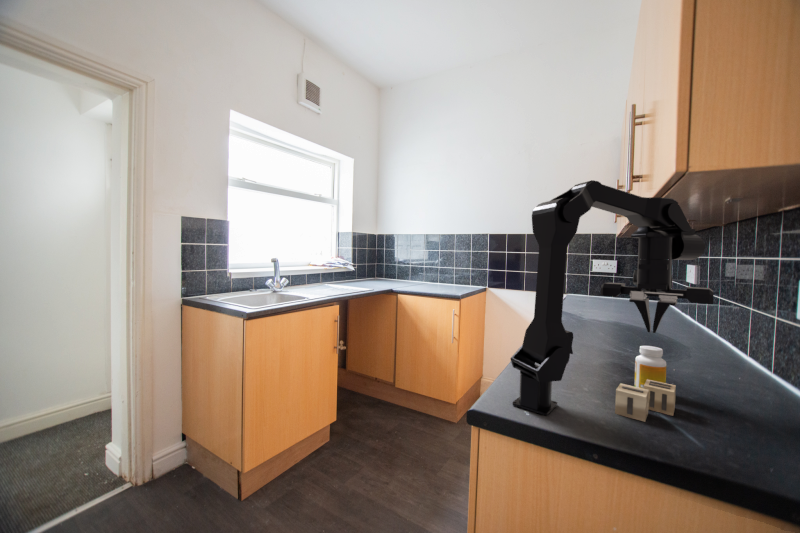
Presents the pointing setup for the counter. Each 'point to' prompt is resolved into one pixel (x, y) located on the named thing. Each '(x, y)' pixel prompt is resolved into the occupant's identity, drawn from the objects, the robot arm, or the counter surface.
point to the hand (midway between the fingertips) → (651, 332)
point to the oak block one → (632, 402)
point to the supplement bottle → (649, 366)
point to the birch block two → (661, 396)
